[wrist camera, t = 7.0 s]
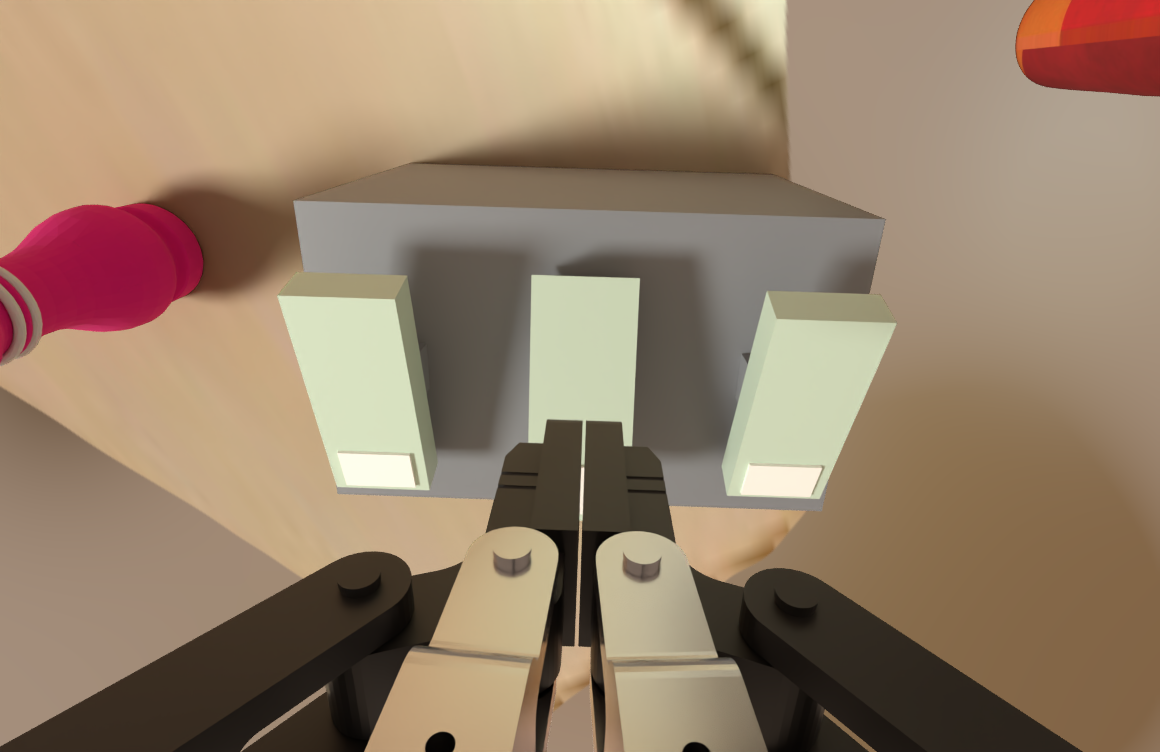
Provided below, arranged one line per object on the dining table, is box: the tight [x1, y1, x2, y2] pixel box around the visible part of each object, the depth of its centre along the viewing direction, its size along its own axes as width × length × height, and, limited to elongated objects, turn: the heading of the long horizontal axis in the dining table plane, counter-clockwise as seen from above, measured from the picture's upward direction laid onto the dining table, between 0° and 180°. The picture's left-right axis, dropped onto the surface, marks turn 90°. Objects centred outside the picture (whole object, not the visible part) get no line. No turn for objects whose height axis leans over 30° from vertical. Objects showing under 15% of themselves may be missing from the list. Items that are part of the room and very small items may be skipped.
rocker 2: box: [528, 275, 640, 521], centre depth 23 cm, size 9×4×2 cm, turn 178°
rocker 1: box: [277, 272, 438, 490], centre depth 23 cm, size 9×4×2 cm, turn 179°
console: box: [293, 163, 885, 511], centre depth 33 cm, size 13×22×17 cm, turn 88°
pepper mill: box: [0, 203, 203, 366], centre depth 31 cm, size 7×7×20 cm
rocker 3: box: [722, 291, 897, 499], centre depth 23 cm, size 9×4×2 cm, turn 179°
